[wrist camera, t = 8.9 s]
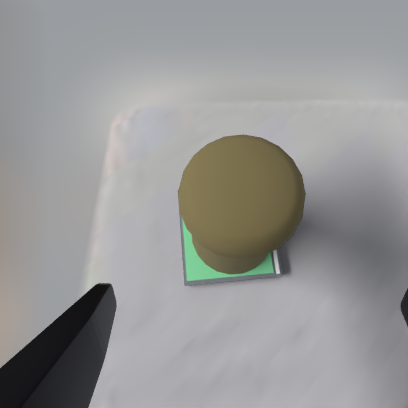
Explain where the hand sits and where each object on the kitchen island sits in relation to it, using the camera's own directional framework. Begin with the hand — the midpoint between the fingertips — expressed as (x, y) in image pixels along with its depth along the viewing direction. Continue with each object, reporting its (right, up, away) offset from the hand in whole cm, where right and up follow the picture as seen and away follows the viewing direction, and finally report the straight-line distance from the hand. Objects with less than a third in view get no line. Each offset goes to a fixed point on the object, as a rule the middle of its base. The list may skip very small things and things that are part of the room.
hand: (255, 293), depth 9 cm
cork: (+1, +1, +12) cm, 12 cm away
